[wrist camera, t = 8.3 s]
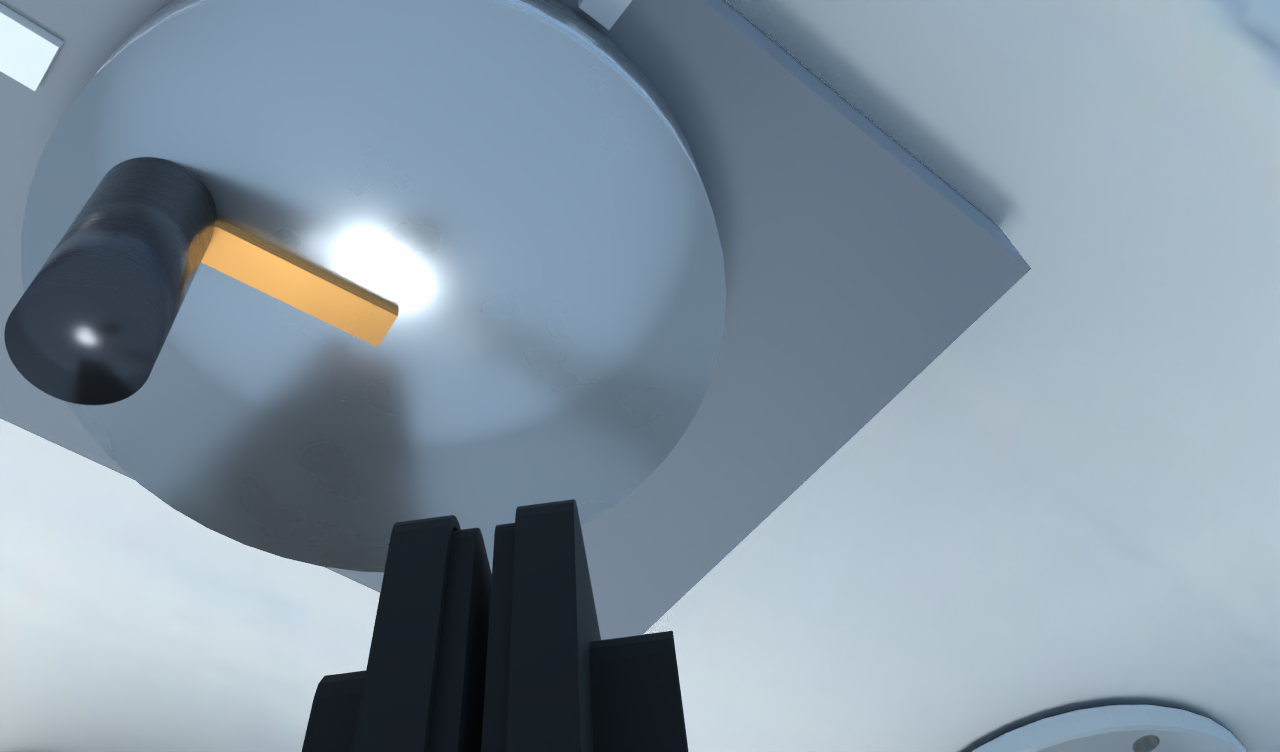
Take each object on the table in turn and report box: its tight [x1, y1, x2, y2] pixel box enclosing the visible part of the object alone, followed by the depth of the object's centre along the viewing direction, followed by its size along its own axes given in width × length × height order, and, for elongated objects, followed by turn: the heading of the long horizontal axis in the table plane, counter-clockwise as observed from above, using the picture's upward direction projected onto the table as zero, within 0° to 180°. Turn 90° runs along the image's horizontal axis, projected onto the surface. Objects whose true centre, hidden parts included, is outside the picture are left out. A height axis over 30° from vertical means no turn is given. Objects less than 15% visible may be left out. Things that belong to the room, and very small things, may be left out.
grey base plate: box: [0, 0, 1031, 640], centre depth 24 cm, size 22×16×2 cm
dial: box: [4, 0, 726, 573], centre depth 21 cm, size 13×13×6 cm
